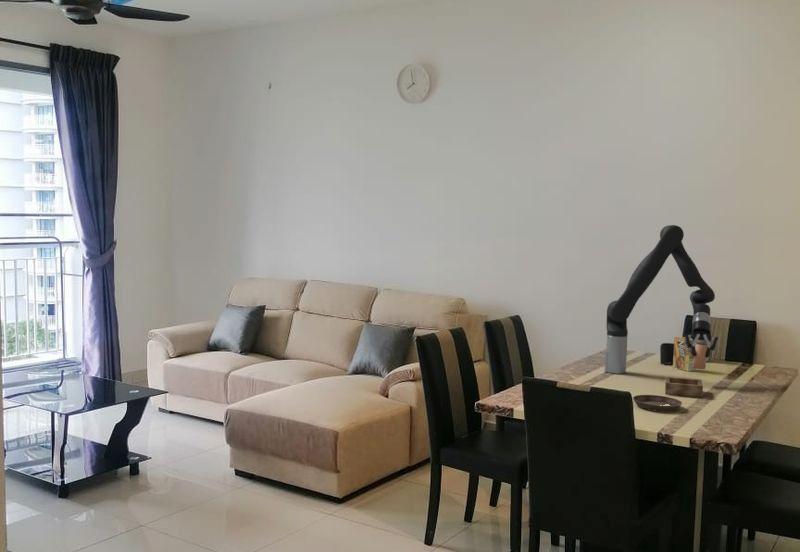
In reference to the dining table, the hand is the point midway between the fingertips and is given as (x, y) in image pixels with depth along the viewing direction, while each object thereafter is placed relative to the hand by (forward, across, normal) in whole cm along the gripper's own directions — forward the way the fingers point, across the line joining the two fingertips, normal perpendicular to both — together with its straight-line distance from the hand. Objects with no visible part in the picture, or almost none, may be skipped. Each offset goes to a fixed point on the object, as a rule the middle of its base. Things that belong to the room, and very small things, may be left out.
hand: (700, 355), depth 326 cm
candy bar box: (-40, +4, +59) cm, 71 cm away
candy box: (-17, -5, +36) cm, 40 cm away
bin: (+22, -7, -3) cm, 23 cm away
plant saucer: (+44, -17, -24) cm, 53 cm away
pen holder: (-25, -11, +44) cm, 52 cm away
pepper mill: (+3, 0, +5) cm, 6 cm away
